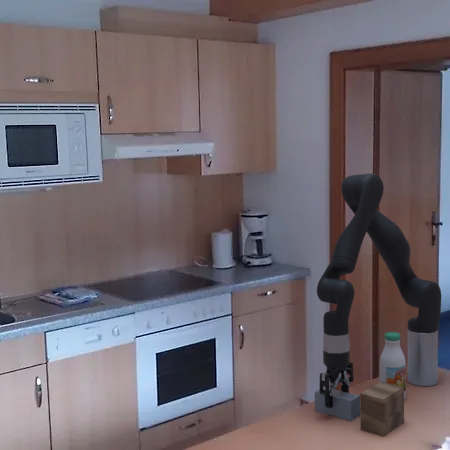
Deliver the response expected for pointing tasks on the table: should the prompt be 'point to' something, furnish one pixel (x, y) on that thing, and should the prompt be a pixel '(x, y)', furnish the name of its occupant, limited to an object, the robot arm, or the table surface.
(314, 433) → the table surface
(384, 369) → the milk bottle
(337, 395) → the pale blue brick
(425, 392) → the table surface
